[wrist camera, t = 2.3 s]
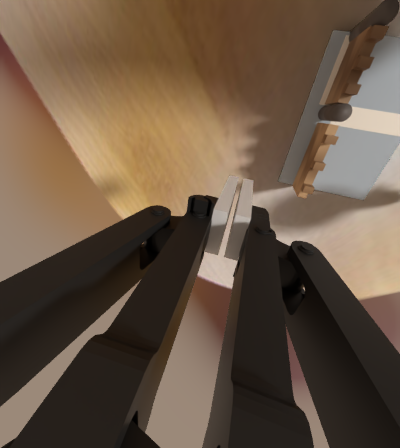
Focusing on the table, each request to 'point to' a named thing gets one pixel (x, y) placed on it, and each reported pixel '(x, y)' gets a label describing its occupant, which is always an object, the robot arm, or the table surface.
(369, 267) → the table surface
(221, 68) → the table surface
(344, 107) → the fence fixed
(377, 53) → the card
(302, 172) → the notched wooden bar
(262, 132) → the table surface
